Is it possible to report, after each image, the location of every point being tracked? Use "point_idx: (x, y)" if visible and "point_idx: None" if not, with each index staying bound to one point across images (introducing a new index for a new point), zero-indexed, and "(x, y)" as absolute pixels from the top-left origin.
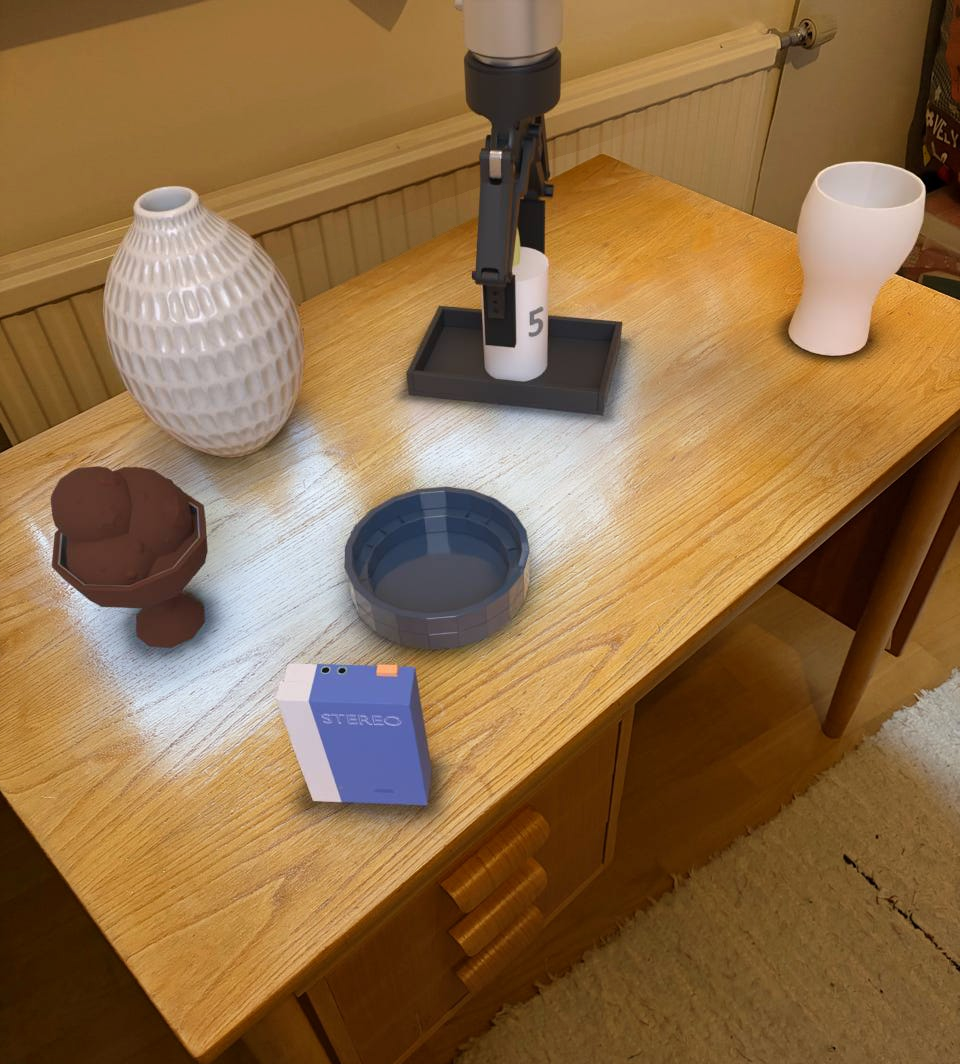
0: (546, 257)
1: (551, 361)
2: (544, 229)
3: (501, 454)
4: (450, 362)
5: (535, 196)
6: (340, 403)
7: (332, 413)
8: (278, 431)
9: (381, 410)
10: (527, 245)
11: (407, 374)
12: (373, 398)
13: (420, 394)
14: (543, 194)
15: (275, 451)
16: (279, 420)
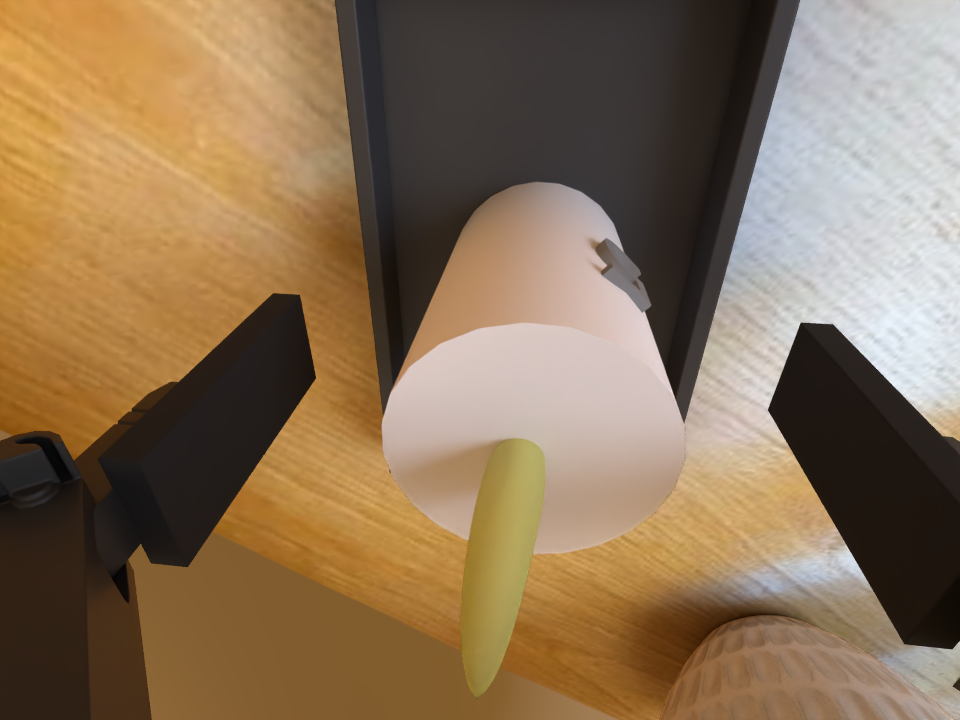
0: (454, 339)
1: (514, 172)
2: (202, 372)
3: (922, 240)
4: None
5: (107, 513)
6: (679, 548)
7: (710, 555)
8: (826, 634)
9: (705, 491)
10: (272, 394)
11: None
12: (664, 507)
13: None
14: (78, 491)
15: (815, 605)
16: (886, 671)
